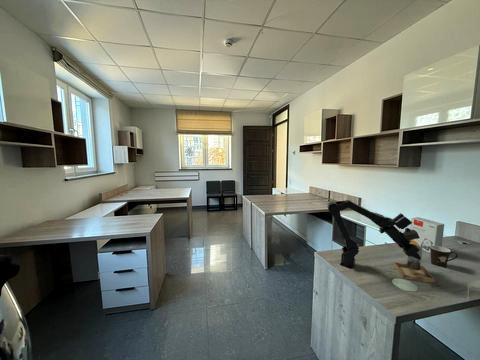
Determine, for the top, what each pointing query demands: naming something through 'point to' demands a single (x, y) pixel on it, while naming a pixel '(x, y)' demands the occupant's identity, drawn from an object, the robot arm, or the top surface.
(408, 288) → the drink coaster
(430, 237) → the hard drive box
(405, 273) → the light wooden tray
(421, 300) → the top surface
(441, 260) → the coffee mug
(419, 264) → the grey round cylinder
